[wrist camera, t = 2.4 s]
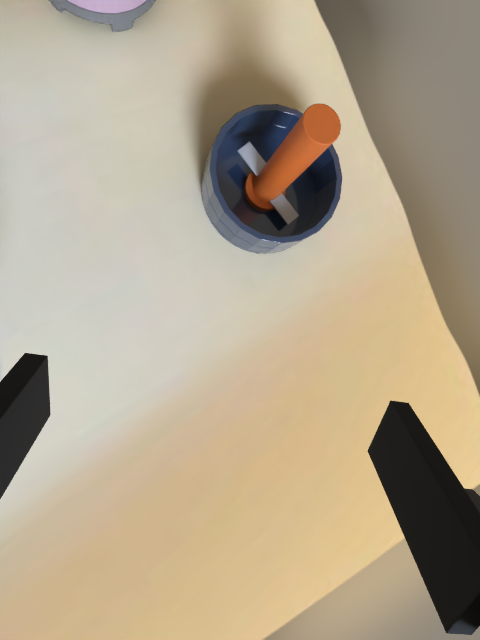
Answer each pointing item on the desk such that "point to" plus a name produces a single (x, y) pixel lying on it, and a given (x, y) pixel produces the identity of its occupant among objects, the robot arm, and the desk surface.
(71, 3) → the blender
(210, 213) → the bowl
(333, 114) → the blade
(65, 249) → the desk surface
